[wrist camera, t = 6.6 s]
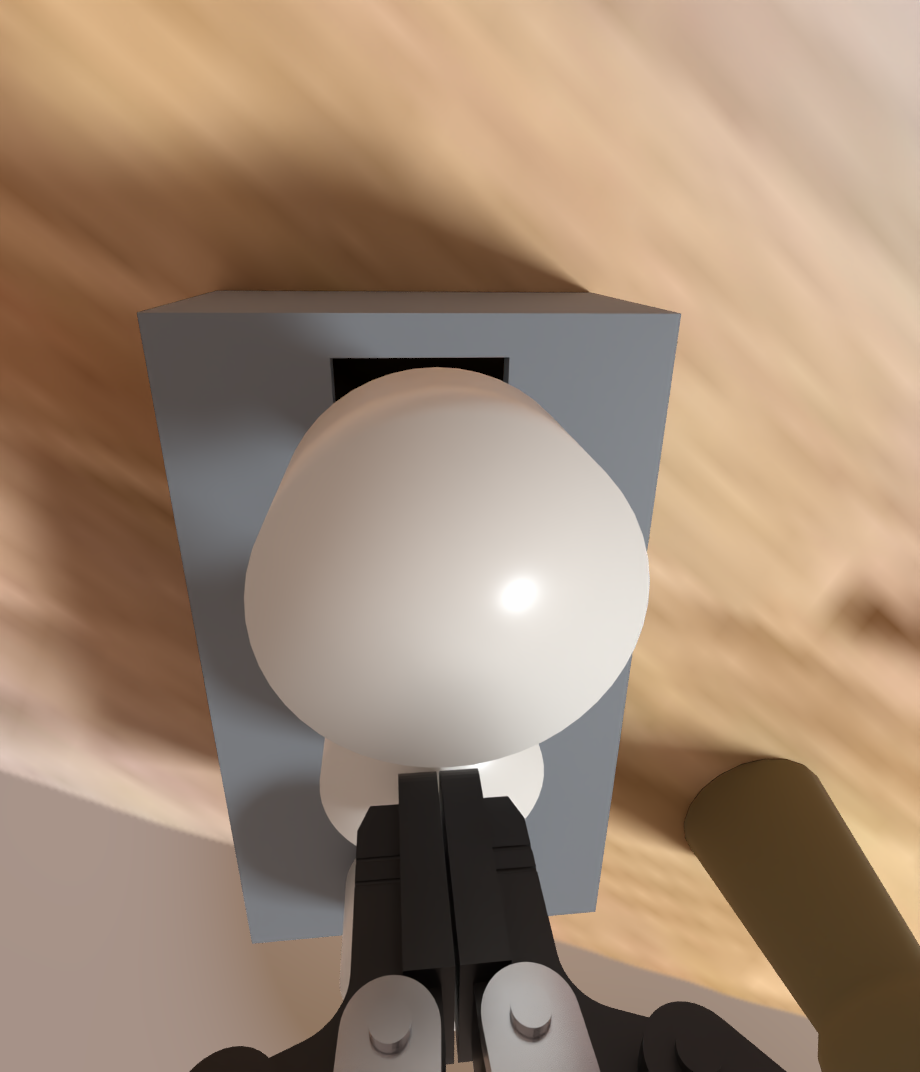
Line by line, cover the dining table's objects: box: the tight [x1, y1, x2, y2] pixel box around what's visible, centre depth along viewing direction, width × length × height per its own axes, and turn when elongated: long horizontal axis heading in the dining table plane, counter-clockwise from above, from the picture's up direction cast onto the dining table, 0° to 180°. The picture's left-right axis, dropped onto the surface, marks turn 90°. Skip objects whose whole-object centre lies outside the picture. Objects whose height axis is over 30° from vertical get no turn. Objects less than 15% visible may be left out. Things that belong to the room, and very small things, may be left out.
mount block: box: [137, 291, 681, 943], centre depth 18 cm, size 17×10×6 cm, turn 179°
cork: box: [684, 759, 920, 1072], centre depth 22 cm, size 6×6×11 cm
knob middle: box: [320, 738, 544, 846], centre depth 17 cm, size 4×4×8 cm
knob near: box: [244, 367, 650, 768], centre depth 11 cm, size 4×4×8 cm
